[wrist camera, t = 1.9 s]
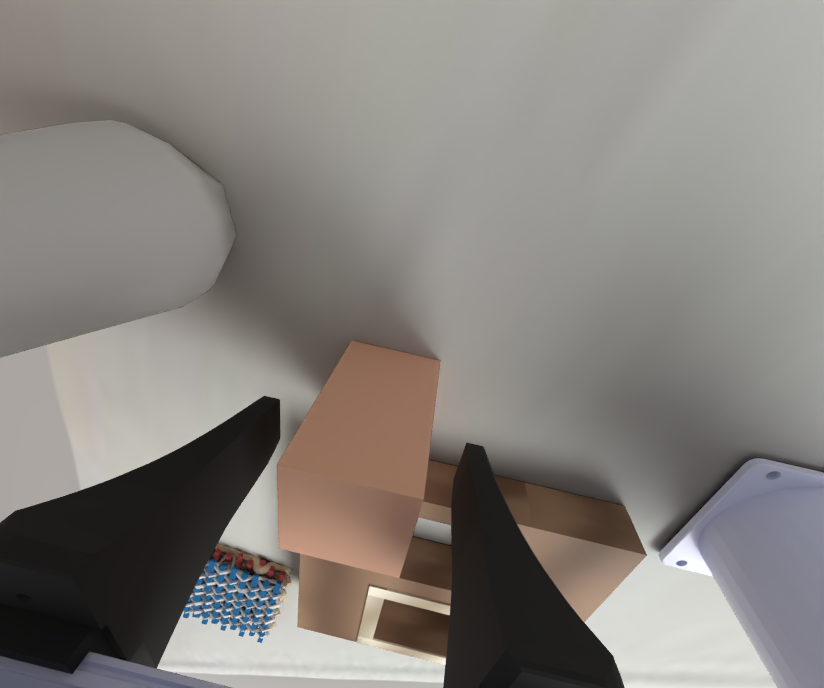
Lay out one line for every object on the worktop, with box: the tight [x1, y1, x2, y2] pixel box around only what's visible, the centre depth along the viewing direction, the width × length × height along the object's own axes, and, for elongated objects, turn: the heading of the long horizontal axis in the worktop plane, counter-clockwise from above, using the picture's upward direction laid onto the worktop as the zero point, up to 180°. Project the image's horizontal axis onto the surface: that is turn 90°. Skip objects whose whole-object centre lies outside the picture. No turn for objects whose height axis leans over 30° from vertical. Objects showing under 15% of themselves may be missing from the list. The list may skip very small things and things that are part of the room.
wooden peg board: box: [298, 460, 647, 665], centre depth 21 cm, size 16×16×3 cm
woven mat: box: [183, 544, 291, 643], centre depth 27 cm, size 10×11×2 cm
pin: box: [277, 341, 440, 578], centre depth 13 cm, size 4×4×7 cm
